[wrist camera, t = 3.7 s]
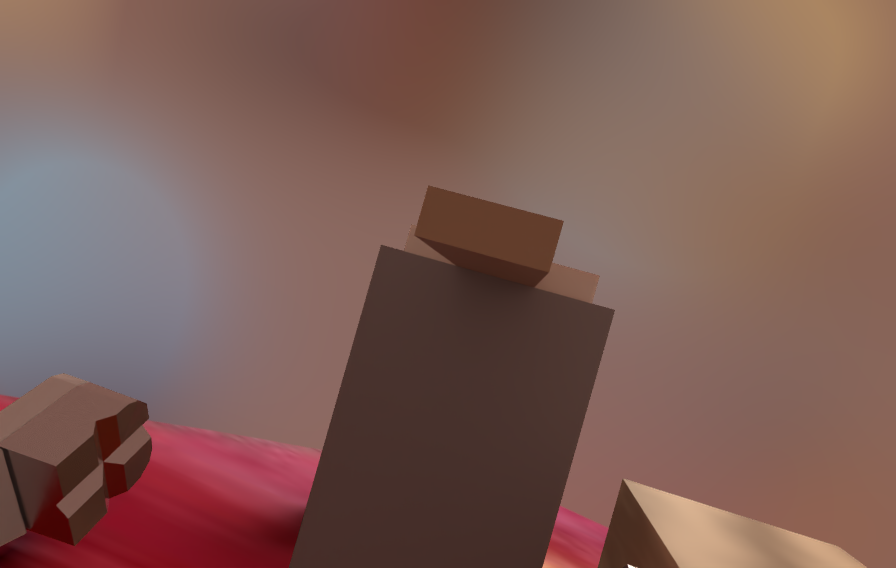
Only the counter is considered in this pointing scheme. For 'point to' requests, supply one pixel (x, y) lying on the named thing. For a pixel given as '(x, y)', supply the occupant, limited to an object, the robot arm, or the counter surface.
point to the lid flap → (496, 243)
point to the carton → (452, 422)
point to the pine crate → (704, 537)
